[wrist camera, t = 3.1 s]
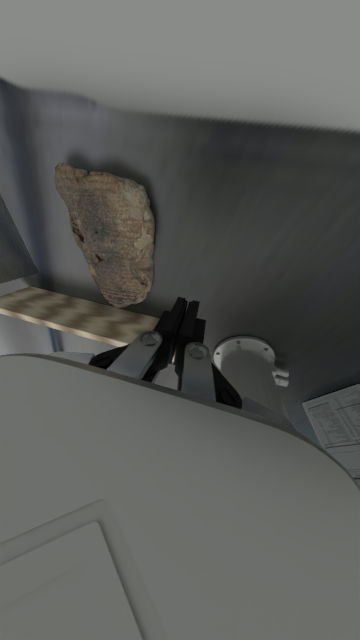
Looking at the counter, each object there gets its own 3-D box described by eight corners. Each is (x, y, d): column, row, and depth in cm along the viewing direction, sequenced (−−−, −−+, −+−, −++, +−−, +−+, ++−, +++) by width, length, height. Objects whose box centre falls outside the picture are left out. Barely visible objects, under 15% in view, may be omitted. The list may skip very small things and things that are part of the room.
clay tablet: (157, 308, 30) (161, 180, 18) (147, 322, 26) (144, 170, 14) (99, 293, 32) (67, 166, 19) (82, 304, 28) (29, 154, 16)
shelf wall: (186, 325, 30) (176, 357, 23) (185, 330, 31) (175, 362, 24) (30, 286, 34) (-19, 303, 27) (33, 291, 35) (-14, 309, 28)
